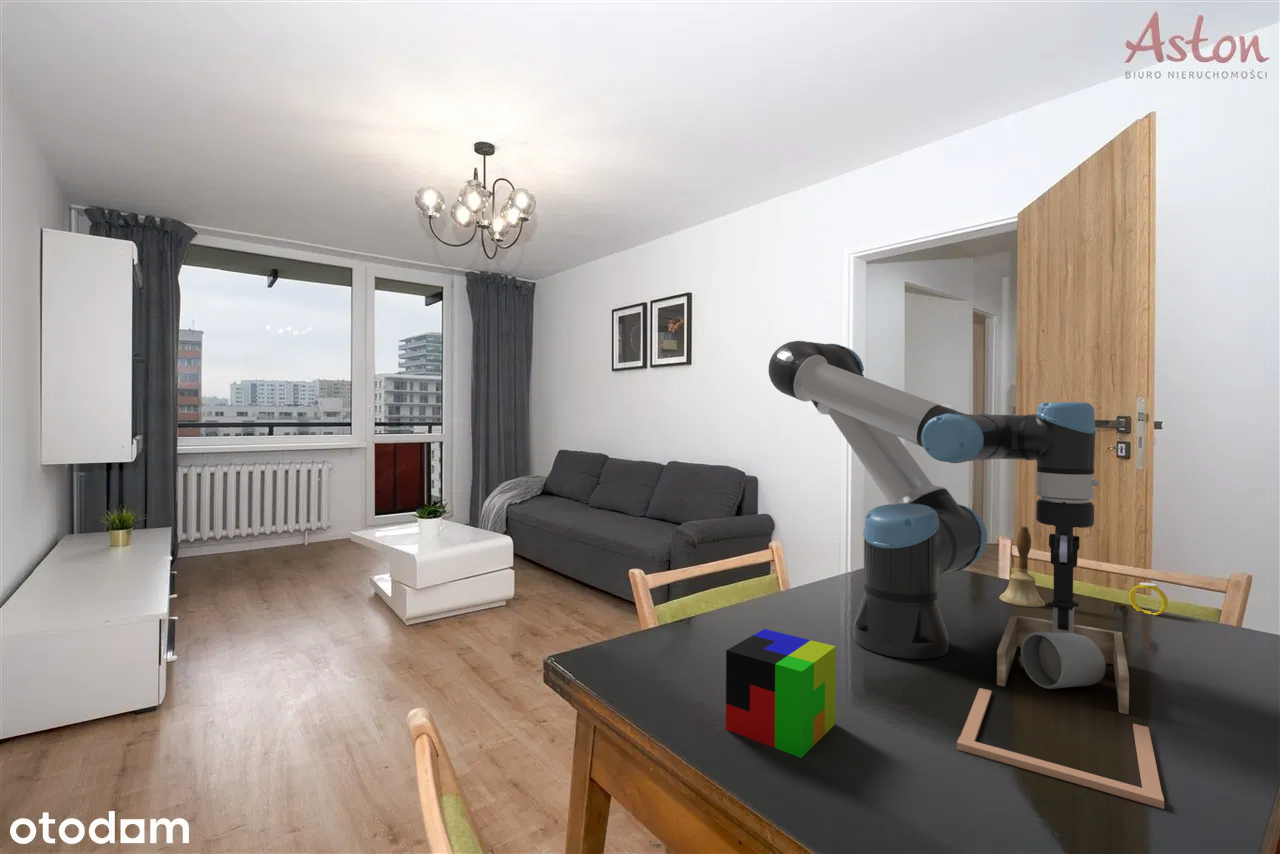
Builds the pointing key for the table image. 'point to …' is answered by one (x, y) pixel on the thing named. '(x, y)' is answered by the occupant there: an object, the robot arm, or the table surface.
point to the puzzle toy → (781, 690)
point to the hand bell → (1022, 577)
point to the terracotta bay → (1145, 755)
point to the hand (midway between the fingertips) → (1062, 647)
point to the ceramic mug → (1062, 660)
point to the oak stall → (1103, 638)
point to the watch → (1154, 587)
